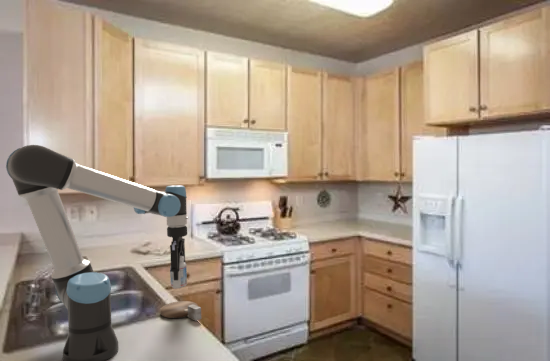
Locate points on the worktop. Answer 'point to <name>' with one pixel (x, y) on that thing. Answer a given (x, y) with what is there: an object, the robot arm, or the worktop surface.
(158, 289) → the worktop surface
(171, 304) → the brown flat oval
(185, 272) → the pill bottle
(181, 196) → the robot arm
